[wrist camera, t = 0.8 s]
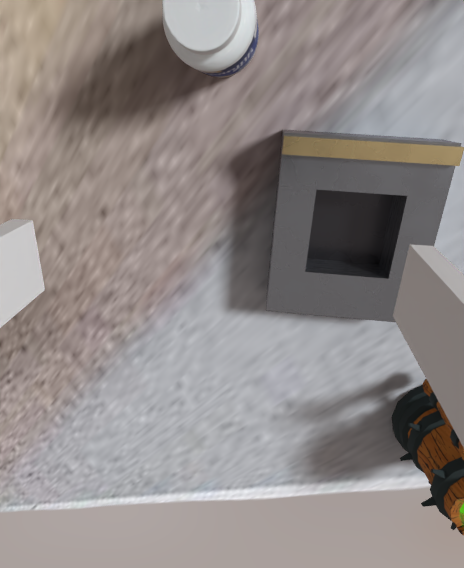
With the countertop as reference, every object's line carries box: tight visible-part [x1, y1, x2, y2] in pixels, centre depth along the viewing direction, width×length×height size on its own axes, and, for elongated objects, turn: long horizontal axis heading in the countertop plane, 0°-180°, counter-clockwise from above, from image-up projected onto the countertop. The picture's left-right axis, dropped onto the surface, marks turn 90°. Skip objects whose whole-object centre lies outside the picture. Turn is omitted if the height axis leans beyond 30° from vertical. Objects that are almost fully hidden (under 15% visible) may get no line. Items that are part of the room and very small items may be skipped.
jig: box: [266, 130, 464, 322], centre depth 32 cm, size 14×12×4 cm
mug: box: [392, 379, 464, 535], centre depth 35 cm, size 13×10×12 cm
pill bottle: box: [162, 0, 258, 78], centre depth 25 cm, size 5×5×10 cm
